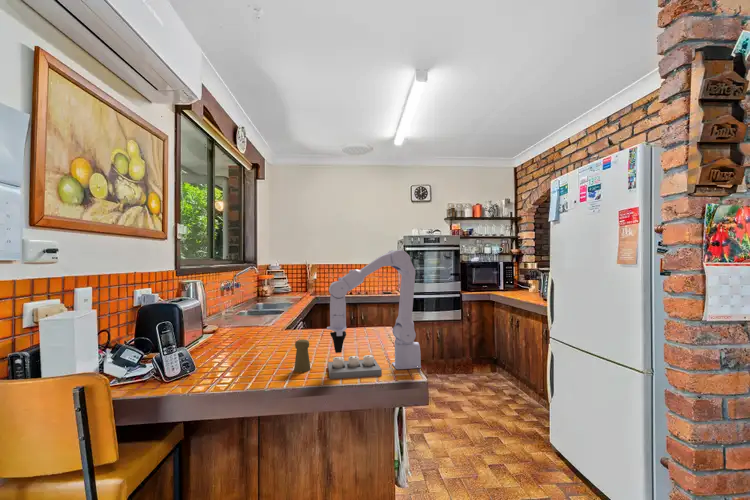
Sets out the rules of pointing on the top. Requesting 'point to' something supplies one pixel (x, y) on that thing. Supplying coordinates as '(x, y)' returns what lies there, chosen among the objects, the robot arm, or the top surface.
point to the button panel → (354, 370)
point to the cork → (302, 356)
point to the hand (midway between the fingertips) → (338, 352)
